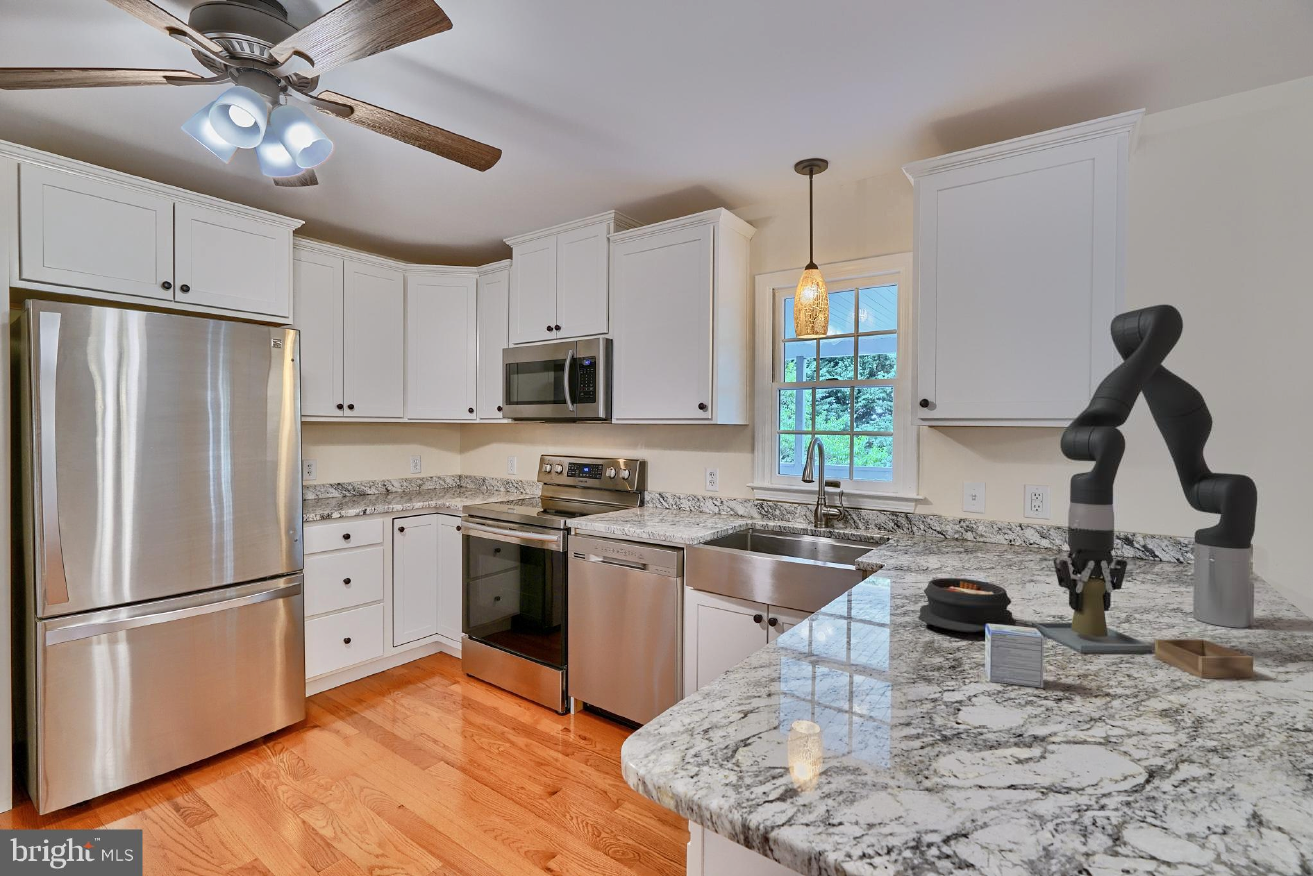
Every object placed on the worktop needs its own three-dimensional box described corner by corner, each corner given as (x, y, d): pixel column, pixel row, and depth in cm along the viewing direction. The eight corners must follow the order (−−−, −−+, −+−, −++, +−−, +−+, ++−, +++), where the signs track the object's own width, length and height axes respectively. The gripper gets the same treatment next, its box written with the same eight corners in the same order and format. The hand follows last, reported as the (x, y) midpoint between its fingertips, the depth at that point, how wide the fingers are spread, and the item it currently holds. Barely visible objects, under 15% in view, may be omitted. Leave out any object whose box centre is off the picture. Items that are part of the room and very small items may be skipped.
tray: (1095, 629, 129) (1095, 622, 129) (1151, 653, 115) (1152, 645, 115) (1031, 629, 128) (1031, 622, 128) (1080, 653, 114) (1080, 645, 114)
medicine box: (1036, 678, 102) (1037, 627, 102) (1043, 689, 98) (1044, 636, 98) (984, 672, 105) (984, 622, 105) (989, 682, 101) (990, 630, 100)
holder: (1202, 657, 113) (1202, 639, 113) (1252, 677, 104) (1253, 657, 104) (1154, 658, 112) (1155, 639, 112) (1201, 678, 103) (1201, 657, 103)
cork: (1114, 638, 118) (1115, 581, 118) (1079, 635, 119) (1080, 579, 119) (1098, 628, 124) (1099, 574, 124) (1065, 625, 125) (1066, 572, 125)
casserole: (947, 604, 147) (948, 570, 147) (1033, 623, 133) (1034, 585, 133) (896, 624, 131) (897, 586, 131) (988, 648, 117) (989, 605, 116)
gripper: (1110, 522, 126) (1109, 604, 126) (1043, 522, 125) (1042, 605, 125) (1140, 528, 118) (1139, 615, 118) (1069, 528, 117) (1068, 616, 118)
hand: (1089, 609), depth 122 cm, fingers closed on cork, 5 cm apart
